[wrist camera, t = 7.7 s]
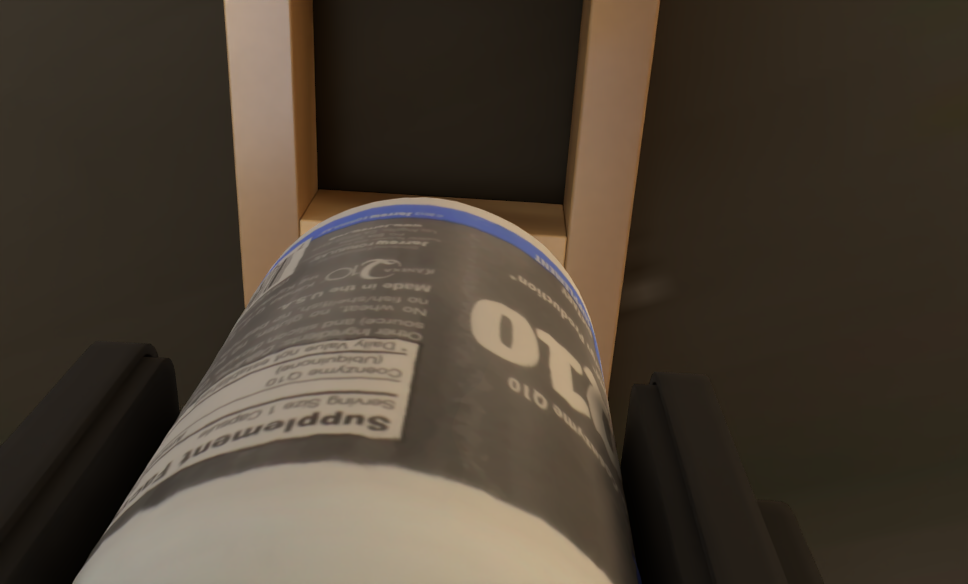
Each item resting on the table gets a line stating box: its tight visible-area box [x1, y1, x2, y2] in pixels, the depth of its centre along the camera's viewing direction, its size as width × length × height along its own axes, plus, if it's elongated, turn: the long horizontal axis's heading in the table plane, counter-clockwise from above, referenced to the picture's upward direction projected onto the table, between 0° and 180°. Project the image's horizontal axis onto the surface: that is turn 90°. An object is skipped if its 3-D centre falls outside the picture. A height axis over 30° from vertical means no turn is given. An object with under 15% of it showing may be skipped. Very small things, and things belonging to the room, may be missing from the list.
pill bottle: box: [72, 197, 642, 584], centre depth 9 cm, size 5×5×8 cm
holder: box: [224, 0, 660, 398], centre depth 25 cm, size 10×19×2 cm, turn 177°
